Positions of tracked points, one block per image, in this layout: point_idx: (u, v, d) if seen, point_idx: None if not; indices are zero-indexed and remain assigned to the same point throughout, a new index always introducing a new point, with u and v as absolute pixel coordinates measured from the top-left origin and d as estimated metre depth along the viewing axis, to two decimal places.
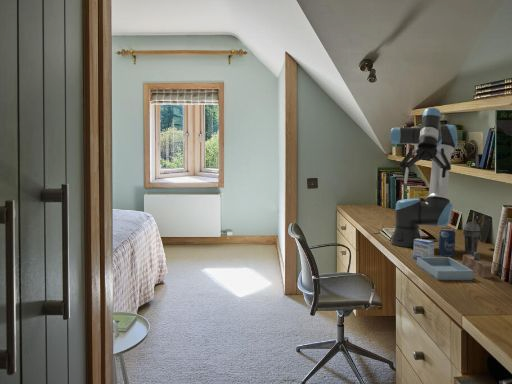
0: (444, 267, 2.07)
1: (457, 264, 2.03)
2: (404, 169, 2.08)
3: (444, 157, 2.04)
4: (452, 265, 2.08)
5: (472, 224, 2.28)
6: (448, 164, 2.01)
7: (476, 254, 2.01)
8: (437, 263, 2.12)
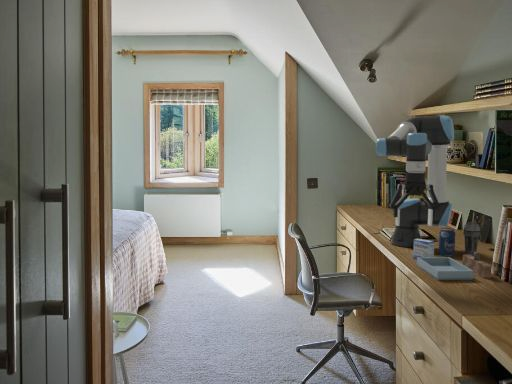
0: (444, 267, 2.07)
1: (457, 264, 2.03)
2: (396, 211, 1.98)
3: (433, 196, 1.98)
4: (452, 265, 2.08)
5: (472, 224, 2.28)
6: (437, 204, 1.98)
7: (476, 254, 2.01)
8: (437, 263, 2.12)
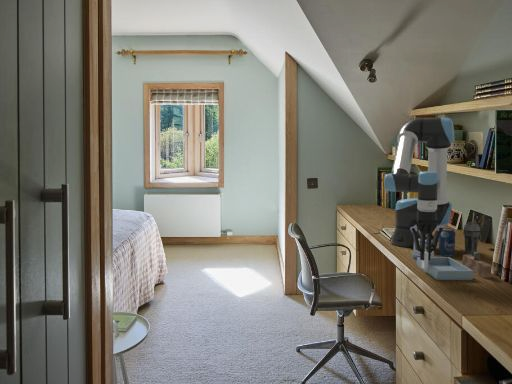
0: (444, 267, 2.07)
1: (457, 264, 2.03)
2: (422, 254, 2.00)
3: (437, 238, 1.99)
4: (452, 265, 2.08)
5: (472, 224, 2.28)
6: (434, 247, 2.00)
7: (476, 254, 2.01)
8: (437, 263, 2.12)
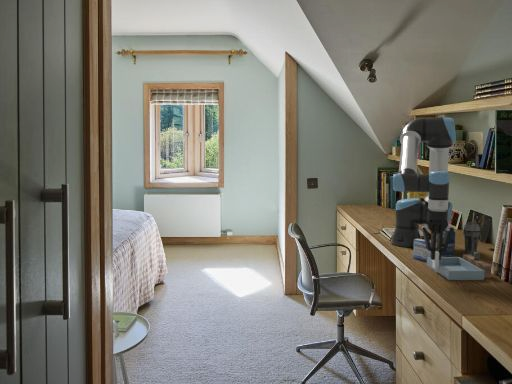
0: (454, 267, 2.07)
1: (468, 264, 2.03)
2: (433, 254, 2.01)
3: (447, 238, 2.00)
4: (462, 265, 2.08)
5: (472, 224, 2.28)
6: (445, 247, 2.00)
7: (476, 254, 2.01)
8: (447, 263, 2.12)
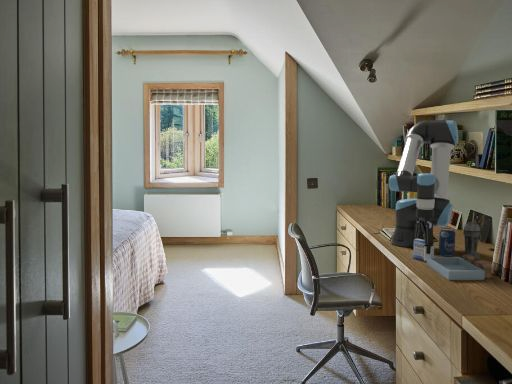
0: (454, 267, 2.07)
1: (468, 264, 2.03)
2: None
3: (427, 234, 2.16)
4: (462, 265, 2.08)
5: (472, 224, 2.28)
6: (427, 242, 2.16)
7: (476, 254, 2.01)
8: (447, 263, 2.12)
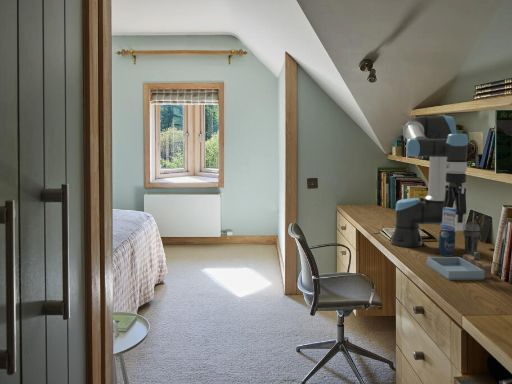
0: (454, 267, 2.07)
1: (468, 264, 2.03)
2: None
3: (459, 200, 1.93)
4: (462, 265, 2.08)
5: (472, 224, 2.28)
6: (459, 210, 1.93)
7: (476, 254, 2.01)
8: (447, 263, 2.12)
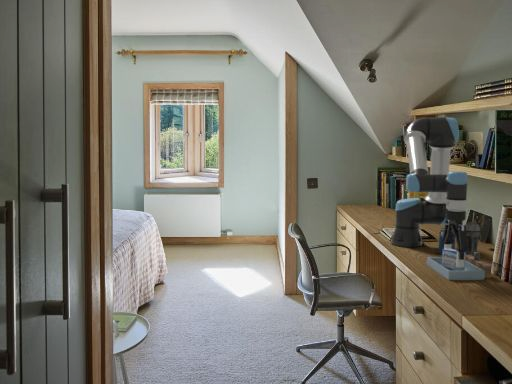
0: None
1: (468, 264, 2.03)
2: None
3: (459, 237, 1.94)
4: None
5: (472, 224, 2.28)
6: (460, 247, 1.93)
7: (476, 254, 2.01)
8: None
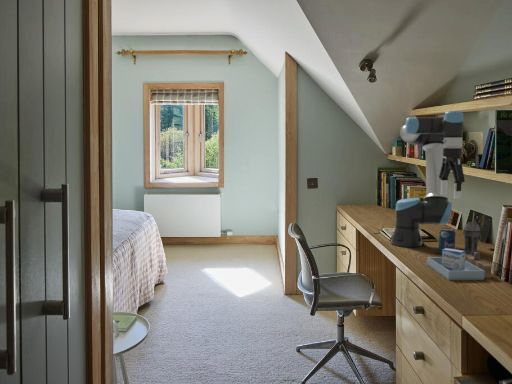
0: None
1: (468, 264, 2.03)
2: None
3: (456, 170, 2.08)
4: None
5: (472, 224, 2.28)
6: (457, 179, 2.06)
7: (476, 254, 2.01)
8: None
